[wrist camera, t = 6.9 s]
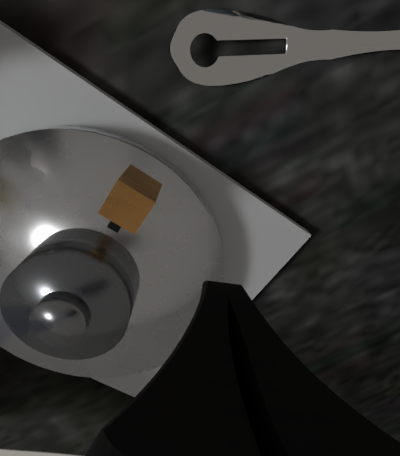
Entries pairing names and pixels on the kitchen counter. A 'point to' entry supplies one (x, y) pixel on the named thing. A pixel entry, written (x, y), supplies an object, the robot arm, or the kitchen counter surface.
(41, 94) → the base plate
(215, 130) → the kitchen counter surface
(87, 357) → the cover
